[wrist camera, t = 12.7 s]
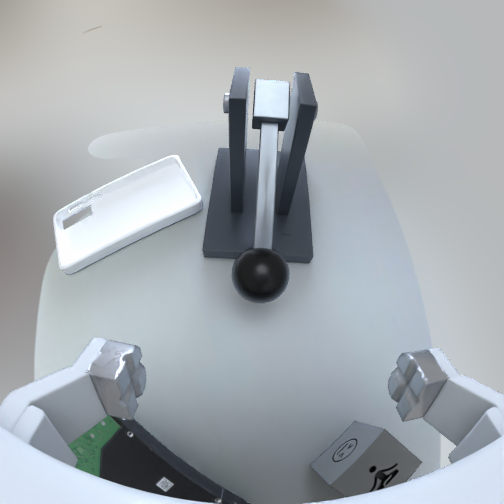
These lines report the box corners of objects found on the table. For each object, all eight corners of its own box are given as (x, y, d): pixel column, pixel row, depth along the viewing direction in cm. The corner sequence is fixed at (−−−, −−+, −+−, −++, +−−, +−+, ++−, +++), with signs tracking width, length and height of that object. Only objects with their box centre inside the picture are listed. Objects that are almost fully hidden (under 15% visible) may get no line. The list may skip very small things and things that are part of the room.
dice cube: (348, 493, 14) (373, 514, 10) (310, 465, 16) (329, 485, 11) (389, 451, 16) (422, 462, 12) (354, 420, 18) (384, 428, 13)
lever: (283, 295, 19) (290, 312, 16) (232, 293, 19) (228, 309, 16) (293, 101, 18) (302, 78, 14) (244, 97, 18) (244, 73, 14)
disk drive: (254, 500, 14) (106, 388, 18) (257, 515, 12) (89, 388, 15) (182, 558, 11) (52, 455, 14) (177, 574, 8) (35, 460, 11)
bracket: (309, 263, 23) (366, 155, 12) (204, 257, 23) (177, 140, 12) (302, 161, 29) (327, 58, 17) (219, 156, 29) (214, 48, 17)
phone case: (67, 277, 22) (205, 209, 25) (59, 272, 20) (203, 201, 24) (58, 220, 24) (178, 161, 28) (52, 213, 23) (176, 152, 27)
